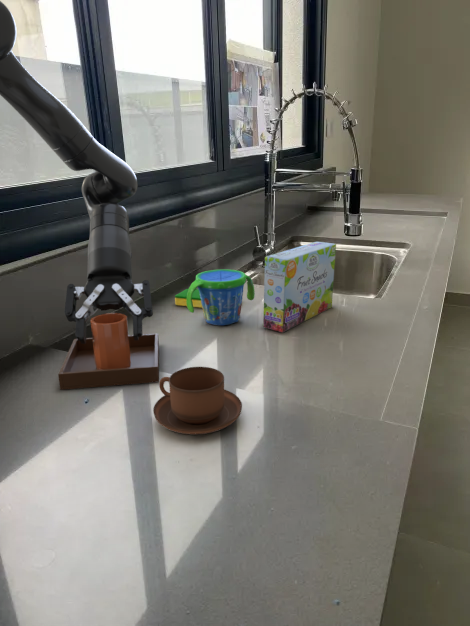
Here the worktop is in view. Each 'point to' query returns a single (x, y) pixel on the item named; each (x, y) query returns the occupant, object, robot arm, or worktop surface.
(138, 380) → the tray
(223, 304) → the snack cup
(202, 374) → the cup and saucer
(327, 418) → the worktop surface
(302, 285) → the snack box
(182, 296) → the dish sponge
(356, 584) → the worktop surface
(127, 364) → the tumbler
